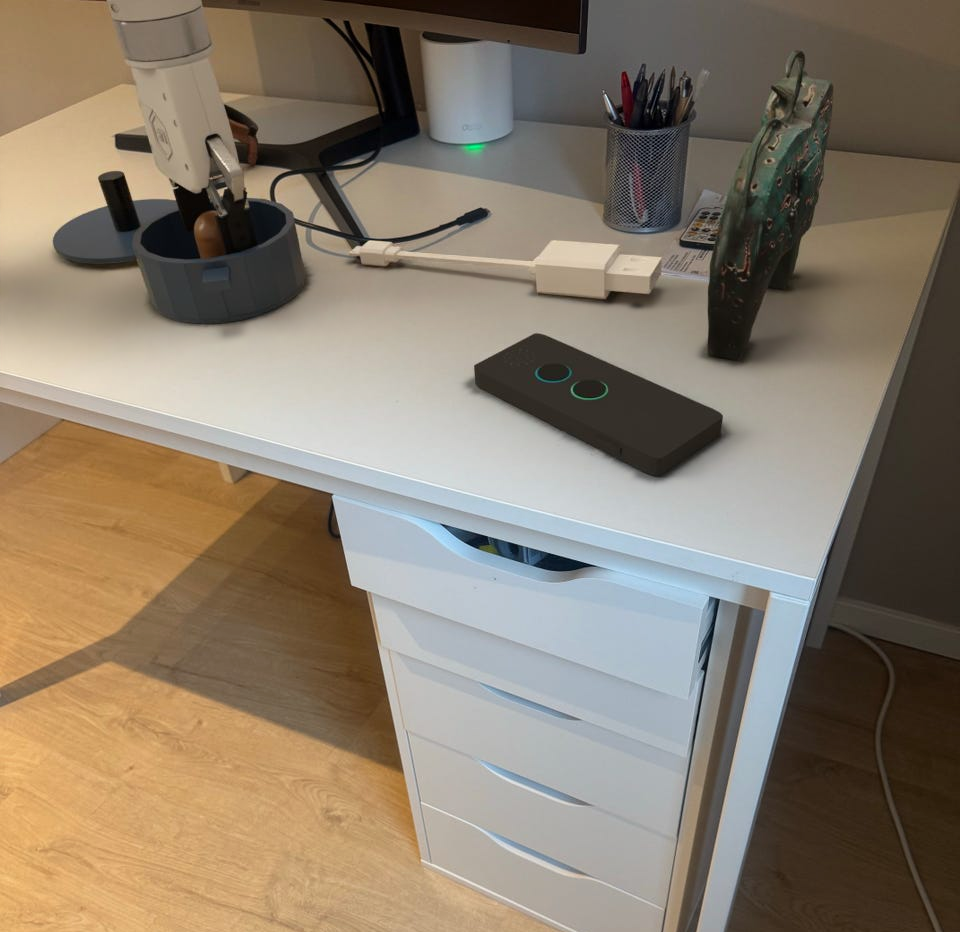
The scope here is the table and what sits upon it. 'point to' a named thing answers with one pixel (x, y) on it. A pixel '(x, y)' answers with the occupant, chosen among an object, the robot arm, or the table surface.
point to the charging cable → (549, 266)
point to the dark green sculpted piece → (768, 207)
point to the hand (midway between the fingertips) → (221, 240)
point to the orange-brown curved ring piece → (243, 131)
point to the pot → (220, 268)
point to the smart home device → (599, 403)
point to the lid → (108, 224)
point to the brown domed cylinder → (208, 236)
